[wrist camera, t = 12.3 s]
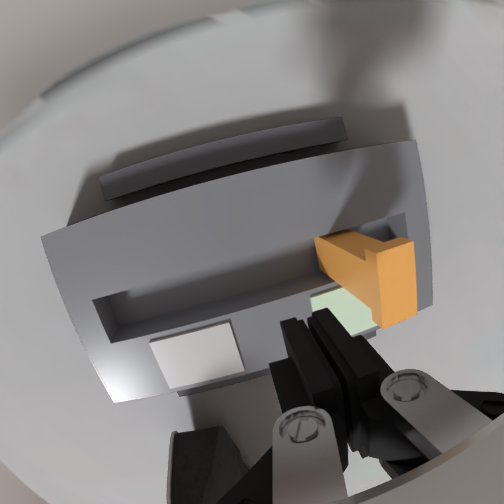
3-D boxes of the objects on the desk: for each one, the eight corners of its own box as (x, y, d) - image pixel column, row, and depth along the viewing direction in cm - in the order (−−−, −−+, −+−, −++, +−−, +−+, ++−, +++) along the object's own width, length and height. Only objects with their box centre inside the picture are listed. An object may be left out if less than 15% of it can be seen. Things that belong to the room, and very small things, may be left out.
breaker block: (384, 143, 21) (417, 139, 17) (404, 288, 24) (434, 305, 20) (66, 226, 19) (38, 237, 15) (124, 371, 22) (113, 404, 18)
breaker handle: (339, 217, 20) (413, 240, 12) (347, 269, 21) (417, 314, 13) (311, 225, 20) (376, 253, 12) (321, 277, 21) (382, 329, 13)
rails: (332, 120, 20) (341, 116, 19) (367, 327, 24) (376, 335, 23) (106, 176, 19) (98, 176, 17) (180, 384, 23) (179, 396, 21)
